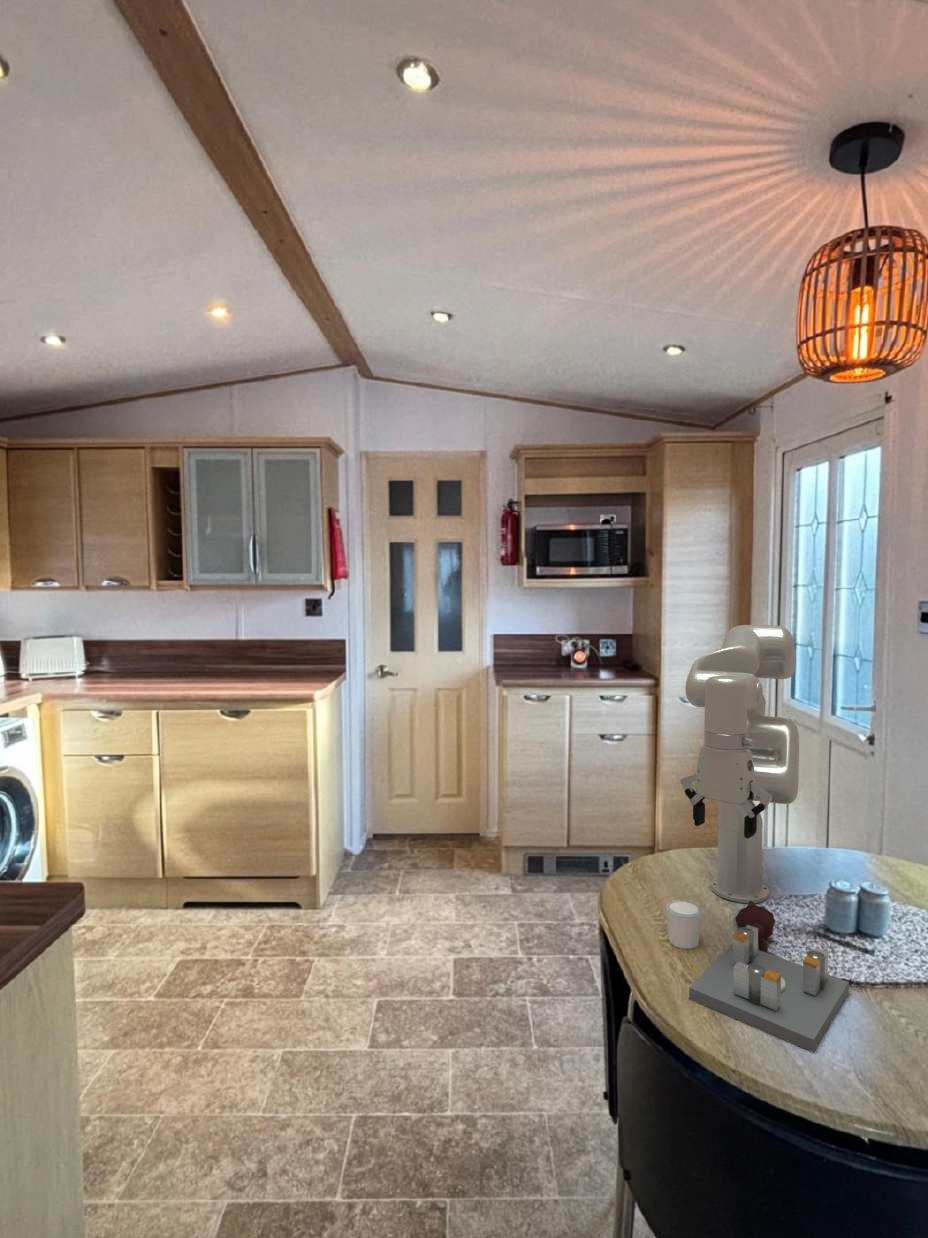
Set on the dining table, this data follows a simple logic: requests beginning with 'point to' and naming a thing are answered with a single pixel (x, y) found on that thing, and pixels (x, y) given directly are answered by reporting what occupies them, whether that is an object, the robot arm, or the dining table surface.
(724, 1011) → the plate
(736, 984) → the grey blocks with cylinder
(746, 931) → the grey upright block
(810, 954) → the grey blocks with cylinder
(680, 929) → the white cylinder
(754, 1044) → the dining table surface
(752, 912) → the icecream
